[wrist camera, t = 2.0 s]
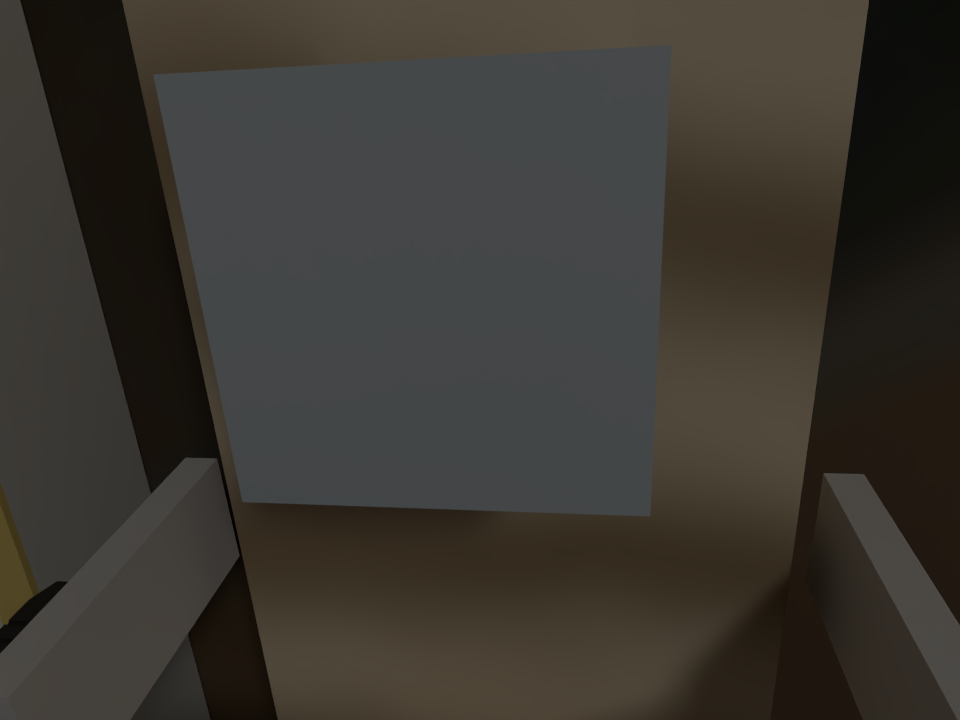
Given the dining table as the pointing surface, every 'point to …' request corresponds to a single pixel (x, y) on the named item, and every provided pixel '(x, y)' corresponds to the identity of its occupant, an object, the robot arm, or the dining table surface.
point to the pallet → (679, 388)
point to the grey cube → (432, 275)
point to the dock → (59, 377)
